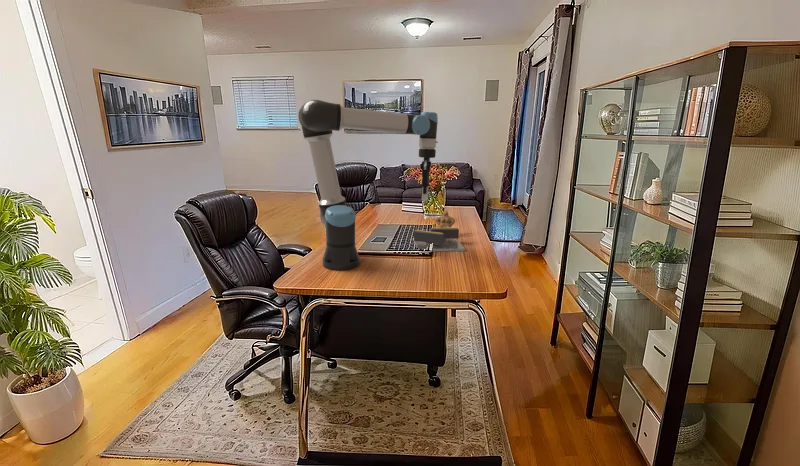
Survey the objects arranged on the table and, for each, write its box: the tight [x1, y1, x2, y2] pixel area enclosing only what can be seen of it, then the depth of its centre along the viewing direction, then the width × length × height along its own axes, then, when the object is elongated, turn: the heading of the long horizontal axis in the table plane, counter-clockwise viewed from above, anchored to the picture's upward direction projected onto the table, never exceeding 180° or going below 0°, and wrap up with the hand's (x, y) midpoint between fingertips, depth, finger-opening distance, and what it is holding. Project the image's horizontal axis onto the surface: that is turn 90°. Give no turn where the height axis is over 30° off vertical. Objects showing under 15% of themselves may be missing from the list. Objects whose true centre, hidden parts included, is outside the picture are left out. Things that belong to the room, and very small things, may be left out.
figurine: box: [434, 210, 456, 228], centre depth 199 cm, size 11×9×15 cm
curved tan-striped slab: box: [429, 227, 460, 240], centre depth 186 cm, size 3×14×6 cm, turn 97°
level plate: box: [412, 237, 466, 252], centre depth 181 cm, size 22×16×2 cm
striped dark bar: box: [413, 229, 444, 244], centre depth 179 cm, size 3×14×6 cm, turn 70°
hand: (424, 200), depth 173 cm, fingers closed
